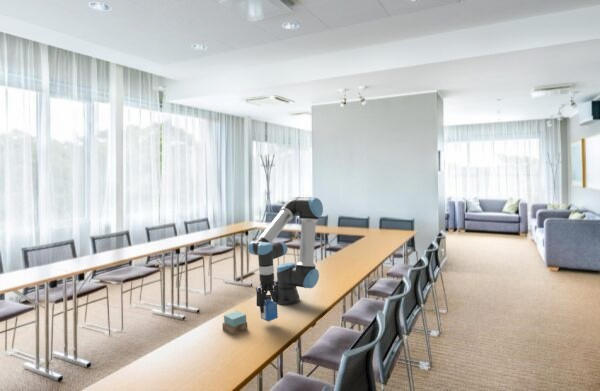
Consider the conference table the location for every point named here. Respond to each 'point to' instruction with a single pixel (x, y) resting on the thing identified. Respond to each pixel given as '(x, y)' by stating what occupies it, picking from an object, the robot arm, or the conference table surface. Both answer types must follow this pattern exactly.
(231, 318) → the teal slab
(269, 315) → the perfume bottle
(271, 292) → the robot arm
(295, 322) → the conference table surface
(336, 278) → the conference table surface
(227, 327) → the walnut slab
